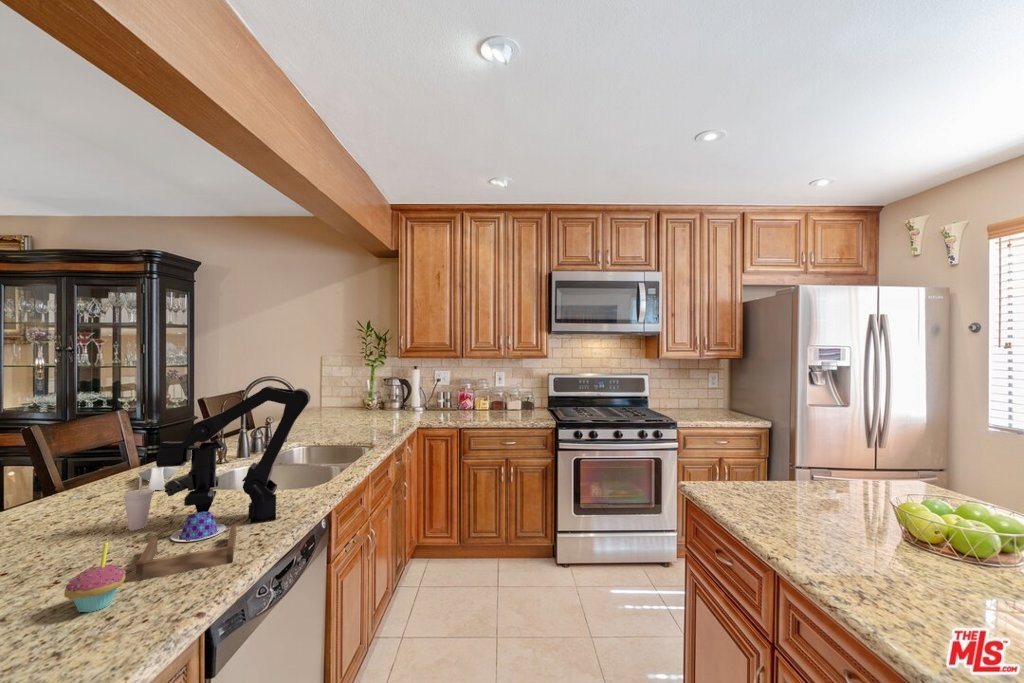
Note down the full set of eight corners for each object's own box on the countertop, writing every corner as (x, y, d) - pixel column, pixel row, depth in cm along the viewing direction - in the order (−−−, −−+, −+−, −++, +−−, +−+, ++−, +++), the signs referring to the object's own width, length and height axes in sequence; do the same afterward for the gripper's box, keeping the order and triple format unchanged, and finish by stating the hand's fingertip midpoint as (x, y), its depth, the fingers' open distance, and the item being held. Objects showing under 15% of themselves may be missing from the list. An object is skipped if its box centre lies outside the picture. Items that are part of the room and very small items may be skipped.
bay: (235, 538, 115) (236, 524, 115) (232, 562, 101) (233, 547, 102) (150, 552, 106) (151, 537, 106) (135, 581, 93) (135, 564, 93)
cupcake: (91, 594, 88) (93, 533, 88) (136, 593, 88) (138, 533, 89) (50, 620, 79) (52, 553, 79) (100, 619, 80) (103, 552, 80)
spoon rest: (138, 478, 165) (139, 459, 166) (177, 473, 173) (178, 455, 173) (135, 495, 147) (135, 473, 147) (179, 489, 154) (179, 468, 154)
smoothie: (134, 533, 116) (136, 480, 117) (115, 531, 118) (117, 478, 118) (158, 524, 123) (160, 474, 123) (139, 522, 124) (141, 472, 124)
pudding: (197, 546, 110) (197, 525, 110) (158, 541, 112) (159, 521, 113) (236, 528, 122) (237, 509, 122) (200, 524, 124) (201, 505, 124)
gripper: (173, 460, 127) (172, 514, 127) (160, 476, 111) (158, 538, 111) (219, 456, 133) (218, 508, 132) (213, 471, 117) (211, 530, 116)
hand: (201, 520), depth 123 cm, fingers closed
